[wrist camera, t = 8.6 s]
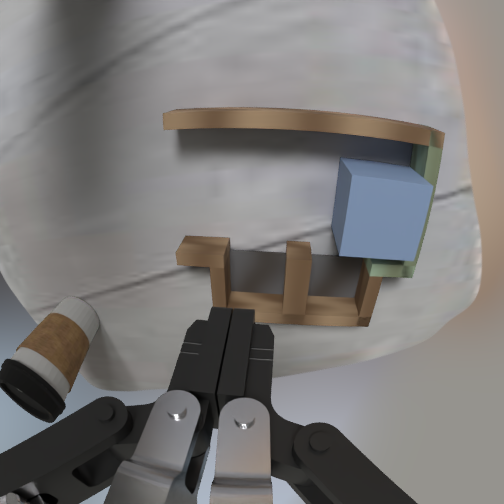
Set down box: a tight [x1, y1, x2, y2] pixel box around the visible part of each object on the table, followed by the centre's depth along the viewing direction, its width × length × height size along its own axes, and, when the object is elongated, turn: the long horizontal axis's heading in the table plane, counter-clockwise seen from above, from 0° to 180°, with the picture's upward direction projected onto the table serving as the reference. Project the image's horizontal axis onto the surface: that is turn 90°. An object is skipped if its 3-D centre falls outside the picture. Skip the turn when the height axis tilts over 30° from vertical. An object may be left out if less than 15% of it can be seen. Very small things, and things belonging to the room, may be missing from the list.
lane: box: [163, 107, 445, 327], centre depth 25 cm, size 20×18×3 cm
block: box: [331, 157, 433, 261], centre depth 22 cm, size 6×6×5 cm
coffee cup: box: [0, 296, 99, 423], centre depth 29 cm, size 8×8×15 cm
